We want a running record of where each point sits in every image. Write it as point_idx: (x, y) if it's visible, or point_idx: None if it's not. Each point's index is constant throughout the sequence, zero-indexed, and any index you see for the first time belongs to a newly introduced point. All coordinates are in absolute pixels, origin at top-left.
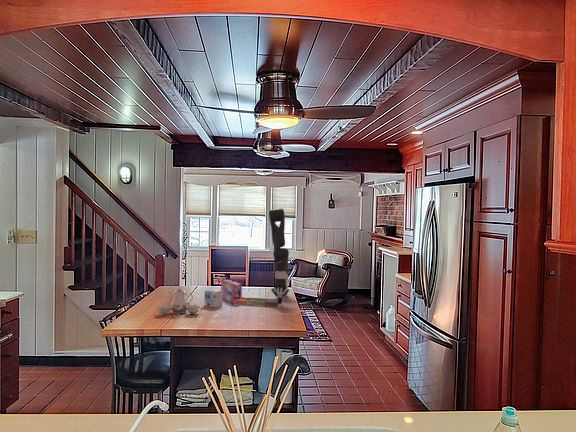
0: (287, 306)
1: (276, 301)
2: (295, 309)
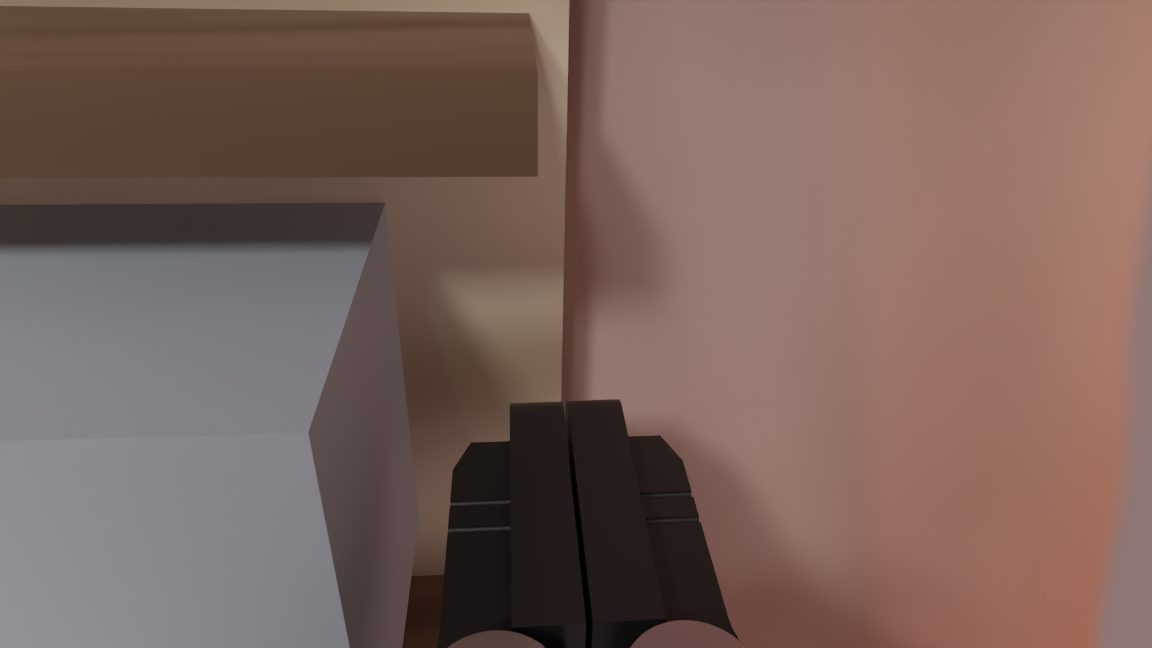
0: (832, 122)
1: (387, 560)
2: (1112, 476)
